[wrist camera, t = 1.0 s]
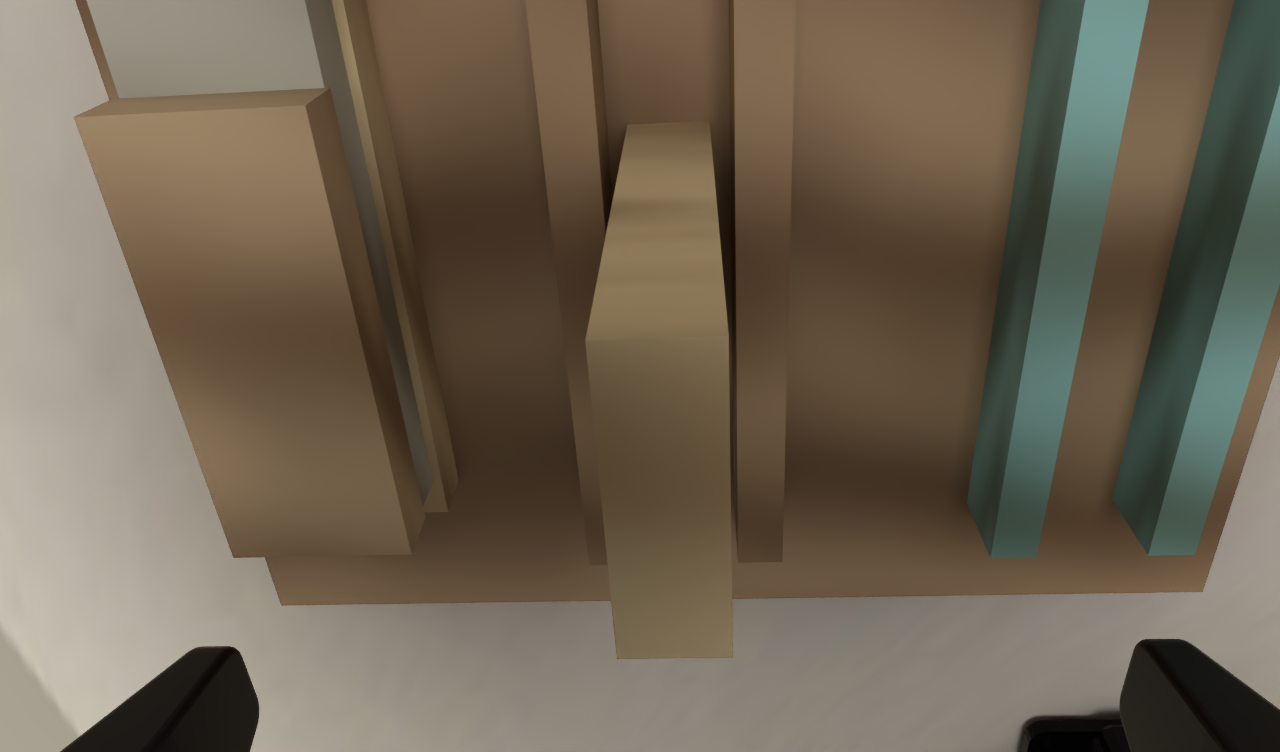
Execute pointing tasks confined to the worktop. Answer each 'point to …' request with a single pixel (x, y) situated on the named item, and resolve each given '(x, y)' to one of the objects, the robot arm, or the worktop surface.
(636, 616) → the tan rectangular block
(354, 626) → the worktop surface
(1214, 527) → the rack
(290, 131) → the offcut stack
